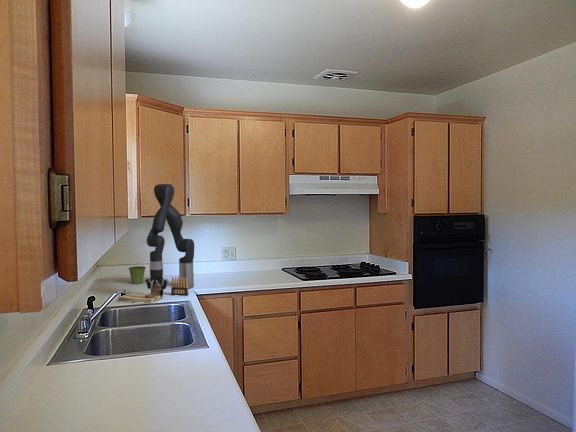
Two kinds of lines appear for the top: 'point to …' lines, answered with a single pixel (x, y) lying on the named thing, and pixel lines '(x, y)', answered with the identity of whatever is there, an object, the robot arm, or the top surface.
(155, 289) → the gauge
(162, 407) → the top surface
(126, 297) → the board
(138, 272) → the plant pot
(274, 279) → the top surface
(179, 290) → the ammunition clip
